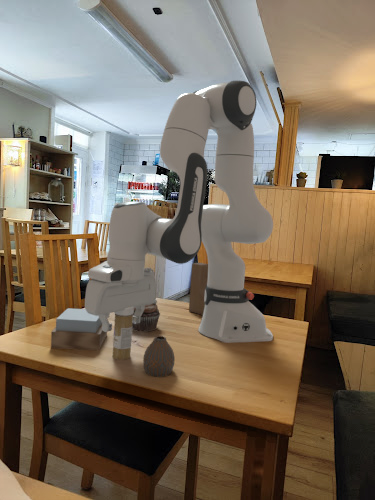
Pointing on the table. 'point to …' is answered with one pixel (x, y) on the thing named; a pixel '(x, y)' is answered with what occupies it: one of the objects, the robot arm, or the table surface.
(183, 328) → the table surface
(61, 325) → the tower top block
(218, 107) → the robot arm
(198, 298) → the wooden block
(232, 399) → the table surface
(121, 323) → the sprinkles bottle
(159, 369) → the vase
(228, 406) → the table surface
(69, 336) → the tower base block
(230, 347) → the table surface
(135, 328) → the cupcake
